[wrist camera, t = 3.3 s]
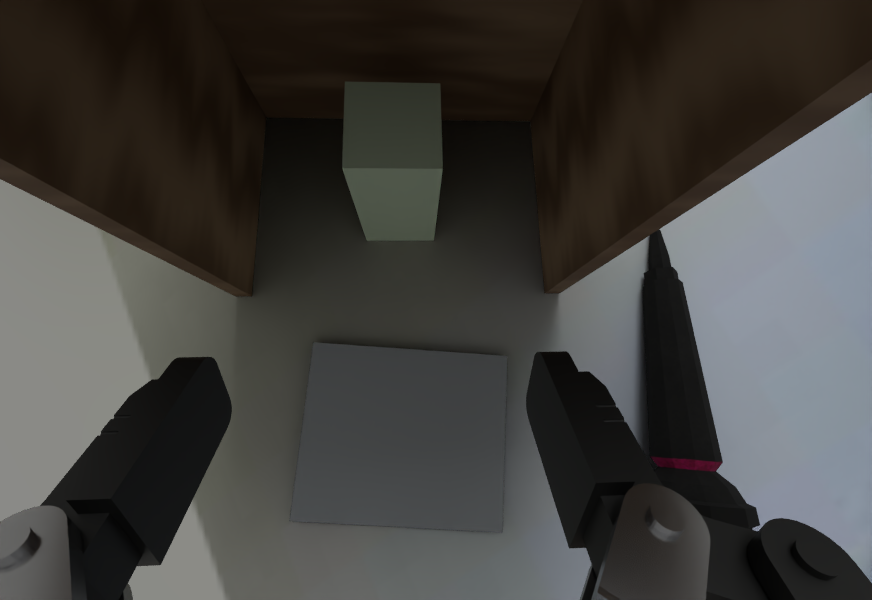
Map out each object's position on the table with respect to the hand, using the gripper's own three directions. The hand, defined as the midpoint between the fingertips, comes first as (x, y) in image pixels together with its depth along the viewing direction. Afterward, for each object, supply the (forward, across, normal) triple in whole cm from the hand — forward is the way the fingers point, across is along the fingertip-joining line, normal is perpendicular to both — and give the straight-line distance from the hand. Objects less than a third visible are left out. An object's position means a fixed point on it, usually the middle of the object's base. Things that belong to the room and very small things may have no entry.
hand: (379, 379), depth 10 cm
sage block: (+19, 0, +2) cm, 19 cm away
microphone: (+10, -17, +11) cm, 23 cm away
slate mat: (+8, 0, +12) cm, 15 cm away
